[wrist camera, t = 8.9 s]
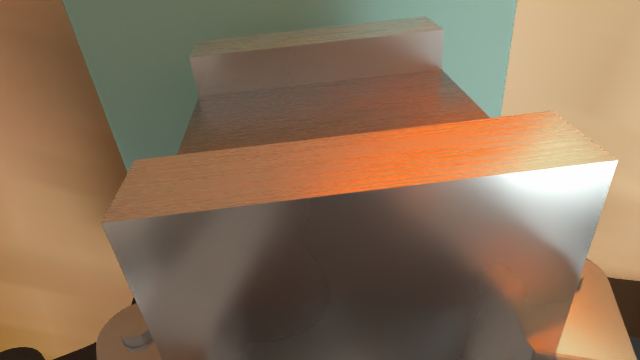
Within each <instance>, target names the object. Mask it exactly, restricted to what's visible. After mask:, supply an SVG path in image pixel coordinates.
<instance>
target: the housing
mask: <svg viewBox="0 0 640 360" xmlns="http://www.w3.org/2000/svg"><path fill="white" fill-rule="evenodd" d="M443 37H444V29H443V28H441V27H440V26H439V25H438V24H436V23H435V22H434V21H432V20H431V19H430V18H428V17H427V16H421V17H412V18H403V19H394V20H385V21H376V22H367V23H358V24H349V25H339V26H330V27H321V28H312V29H303V30H294V31H285V32H276V33H267V34H258V35H248V36H239V37H230V38H221V39H212V40H203V41H198V42H197V44H196V46H195V47H194V49H193V51H192V53H191V55H190V57H189V59H190V63H191V68H192V72H193V76H194V80H195V84H196V88H197V92H198V96H199V97H198V100H197V102H196V105H195V108H194V110H193V113H192V116H191V118H190V121H189V124H188V126H187V129H186V132H185V134H184V137H183V140H182V142H181V145H180V148H179V150H178V153H177V155H174V156H165V157H157V158H148V159H140V160H134V162H133V164H132V166H131V168H130V170H129V172H128V174H127V175H126V177H125V179H124V181H123V183H122V185H121V187H120V189H119V190H118V192H117V194H116V196H115V198H114V200H113V202H112V204H111V206H110V207H109V209H108V211H107V213H106V215H105V217H104V219H103V221H102V222H101V224H102V226H103V228H104V231H105V233H106V235H107V237H108V240H109V242H110V244H111V246H112V249H113V251H114V253H115V255H116V258H117V260H118V262H119V264H120V267H121V269H122V271H123V273H124V276H125V278H126V280H127V282H128V284H129V287H130V289H131V291H132V293H133V296H134V298H135V300H136V302H137V305H138V307H139V309H140V311H141V314H142V316H143V318H144V320H145V323H146V325H147V327H148V329H149V332H150V334H151V336H152V338H153V340H154V343H155V345H156V347H157V349H158V352H159V354H160V356H161V358H162V360H531V358H532V354H533V351H534V349H536V348H544V347H551V346H558V345H559V342H560V338H561V335H562V332H563V329H564V326H565V323H566V320H567V317H568V314H569V311H570V307H571V304H572V301H573V298H574V295H575V292H576V289H577V286H578V283H579V280H580V276H581V273H582V270H583V267H584V264H585V261H586V258H587V255H588V252H589V248H590V245H591V242H592V239H593V236H594V233H595V230H596V227H597V224H598V221H599V217H600V214H601V211H602V208H603V205H604V202H605V199H606V196H607V193H608V190H609V186H610V183H611V180H612V177H613V174H614V171H615V168H616V165H617V162H618V160H617V159H616V158H614V157H613V156H612V155H610V154H609V153H608V152H606V151H605V150H604V149H602V148H601V147H600V146H598V145H597V144H596V143H594V142H593V141H592V140H590V139H589V138H588V137H586V136H585V135H584V134H582V133H581V132H580V131H578V130H577V129H576V128H574V127H573V126H572V125H570V124H569V123H568V122H566V121H565V120H564V119H562V118H561V117H560V116H558V115H557V114H556V113H555V112H553V111H548V112H539V113H531V114H522V115H514V116H505V117H497V118H490V117H489V116H488V115H487V114H486V113H485V112H484V111H483V110H482V109H481V108H480V107H479V106H478V105H477V104H476V103H475V102H474V101H473V100H472V99H471V98H470V97H469V96H468V95H467V94H466V93H465V92H464V91H463V90H462V89H461V88H460V87H459V86H458V85H457V84H456V83H455V82H454V81H453V80H452V79H451V78H450V77H449V76H448V75H447V74H446V73H445V72H444V71H443V70H442V69H441V68H442V53H443Z"/></svg>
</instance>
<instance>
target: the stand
mask: <svg viewBox="0 0 640 360" xmlns="http://www.w3.org/2000/svg"><path fill="white" fill-rule="evenodd" d="M62 2H63V5H64V7H65V10H66V13H67V15H68V18H69V21H70V23H71V26H72V28H73V31H74V34H75V36H76V39H77V42H78V44H79V47H80V49H81V52H82V55H83V57H84V60H85V63H86V65H87V68H88V71H89V73H90V76H91V78H92V81H93V84H94V86H95V89H96V92H97V94H98V97H99V100H100V102H101V105H102V107H103V110H104V113H105V115H106V118H107V121H108V123H109V126H110V129H111V131H112V134H113V136H114V139H115V142H116V144H117V147H118V150H119V152H120V155H121V158H122V160H123V163H124V165H125V168H126V171H127V173H128V172H129V170H130V168H131V166H132V164H133V162H134V160H140V159H148V158H157V157H165V156H174V155H177V153H178V150H179V148H180V145H181V142H182V140H183V137H184V134H185V132H186V129H187V126H188V124H189V121H190V118H191V116H192V113H193V110H194V108H195V105H196V102H197V100H198V97H199V96H198V92H197V88H196V84H195V80H194V76H193V72H192V68H191V63H190V59H189V57H190V55H191V53H192V51H193V49H194V47H195V46H196V44H197V42H198V41H203V40H212V39H221V38H230V37H239V36H248V35H258V34H267V33H276V32H285V31H294V30H303V29H312V28H321V27H330V26H339V25H349V24H358V23H367V22H376V21H385V20H394V19H403V18H412V17H421V16H427V17H428V18H430V19H431V20H432V21H434V22H435V23H436V24H438V25H439V26H440V27H441V28H443V29H444V37H443V53H442V68H441V69H442V70H443V71H444V72H445V73H446V74H447V75H448V76H449V77H450V78H451V79H452V80H453V81H454V82H455V83H456V84H457V85H458V86H459V87H460V88H461V89H462V90H463V91H464V92H465V93H466V94H467V95H468V96H469V97H470V98H471V99H472V100H473V101H474V102H475V103H476V104H477V105H478V106H479V107H480V108H481V109H482V110H483V111H484V112H485V113H486V114H487V115H488V116H489V117H490V118H497V117H501V110H502V103H503V96H504V89H505V82H506V75H507V68H508V61H509V54H510V47H511V40H512V33H513V26H514V19H515V13H516V6H517V0H62Z"/></svg>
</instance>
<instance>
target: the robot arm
mask: <svg viewBox="0 0 640 360" xmlns="http://www.w3.org/2000/svg"><path fill="white" fill-rule="evenodd" d="M0 360H45V359H44V357H43V356H42V354H41V353H40V352H39V351H38V350H35V349H33V348H28V347H19V348H12V349H9V350H5V351H3V352H0ZM54 360H162V358H161V356H160V354H159V352H158V349H157V347H156V345H155V343H154V340H153V338H152V336H151V334H150V332H149V329H148V327H147V325H146V323H145V320H144V318H143V316H142V314H141V311H140V309H139V307H138V305H137V302H136V300H135V298H133V301H132V304H131V306H128V307H127V308H125V309H123V310H121V311H120V312H118V313H117V314H116V315H114V316H113V317H112V318H111V319H110V320H109V321H108V322H107V323H106V324H105V325H104V327H103V328H102V330H101V332H100V334H99V336H98V339H97V342H95V343H93V344H91V345H89V346H87V347H85V348H82V349H79V350H77V351H74V352H72V353H69V354H67V355H64V356H61V357H59V358H56V359H54ZM531 360H640V281H632V280H623V279H615V278H609V277H607V276H606V275H605V273H604V272H603V271H602V270H601V269H600V268H599V267H598V266H597V265H596V264H595V263H593V262H592V261H590V260H588V259H587V258H586V261H585V264H584V267H583V270H582V273H581V276H580V280H579V283H578V286H577V289H576V292H575V295H574V298H573V301H572V304H571V307H570V311H569V314H568V317H567V320H566V323H565V326H564V329H563V332H562V335H561V338H560V342H559V345H558V346H551V347H544V348H536V349H534V351H533V354H532V358H531Z"/></svg>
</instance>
